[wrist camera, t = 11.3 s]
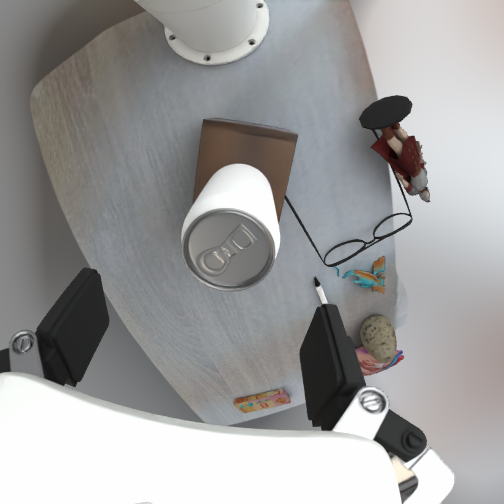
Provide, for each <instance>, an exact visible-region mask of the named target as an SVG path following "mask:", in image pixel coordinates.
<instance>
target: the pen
mask: <svg viewBox="0 0 504 504" xmlns="http://www.w3.org/2000/svg"><path fill="white" fill-rule="evenodd" d="M314 281H315V287H316V290H317V292H318V294H319V297H320V299H321V302H322V304H328V302H327V299H326V297H325V294H324V292H323V289H322V286H321V284H320V283H319V281H318V280H317V278H316V277H315V276H314Z"/></svg>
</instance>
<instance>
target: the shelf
mask: <svg viewBox="0 0 504 504" xmlns="http://www.w3.org/2000/svg"><path fill="white" fill-rule="evenodd" d="M297 138H298V134H296V133H294V132H292V131H290V130H288V129H283V128H278V127H272V126H267V125H261V124H255V123H249V122H243V121H236V120H228V119H220V118H210V119H203V124H202V131H201V138H200V145H199V153H198V161H197V170H196V179H195V188H194V198H193V204H194V203H195V201H196V200H197V198H198V196H199V195H200V193H201V192H202V190H203V189H204V187H205V186H206V184H207V183H208V181H209V180H210V178H211V177H212V176H213V175H214V174H215V173H216V172H217V171H218V170H220V169H221V168H223V167H225V166H228V165H231V164H246V165H249V166H252V167H254V168H256V169H258V170H259V171H260V172H261V173H262V174H263V175H264V176H265V177H266V178H267V180H268V182H269V184H270V187H271V190H272V195H273V199H274V204H275V209H276V214H277V219H278V225H279V220H280V216H281V211H282V207H283V203H284V198H285V193H286V189H287V184H288V180H289V175H290V171H291V166H292V161H293V157H294V152H295V147H296V142H297Z"/></svg>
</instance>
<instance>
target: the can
mask: <svg viewBox="0 0 504 504" xmlns="http://www.w3.org/2000/svg"><path fill="white" fill-rule="evenodd" d="M181 240H182V256H183V260H184V262H185V265H186V267H187V268H188V270H189V271H190V273H191V274H192V275H193V276H194V277H195V278H196V279H197V280H198V281H200V282H201V283H203V284H204V285H206V286H208V287H210V288H213V289H216V290H221V291H241V290H245V289H248V288H250V287H253V286H254V285H256V284H258V283H259V282H261V281H262V280H263V279H264V278H265V277H266V276H267V275H268V273H269V272H270V270H271V268H272V266H273V263H274V260H275V258H276V256H277V254H278V251H279V246H280V231H279V225H278V219H277V214H276V209H275V204H274V199H273V195H272V190H271V187H270V184H269V182H268V180H267V178H266V177H265V176H264V175H263V174H262V173H261V172H260V171H259V170H258V169H256V168H254V167H252V166H249V165H246V164H231V165H228V166H225V167H223V168H221V169H220V170H218V171H217V172H216V173H215V174H214V175H213V176H212V177H211V178H210V180H209V181H208V183H207V184H206V186H205V187H204V189H203V190H202V192H201V193H200V195H199V196H198V198H197V200H196V201H195V203H194V204H193V206H192V208H191V209H190V211H189V213H188V215H187V216H186V218H185V221H184V224H183V227H182V234H181Z"/></svg>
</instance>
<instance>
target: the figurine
mask: <svg viewBox="0 0 504 504" xmlns="http://www.w3.org/2000/svg"><path fill="white" fill-rule="evenodd" d="M411 108H412V103H411V101H409V99H408V98H407V97H404V96H398V95H396V96H390V97H385V98H382V99H381V100H378V101H376V102H374V103H372V104H371V105H370V106H369V107H367V108H366V109H365V110H364V111H363V112H362V114H361V116H360V118H359V120H360V123H361V125H362V127H363V128H366V129H370V130H377V129H381V131H382V133H383V135H382V136H381V137H380V139H379V140H378V141H377V142H375V143H374V144H373V145H372V146H371V148H372V149H374V150H375V151H377V152H378V153H380V154H381V155H382V157H383V158H384V159H385V160H386V161H387V162H388V163H389V164H390V165H391V166H392V167H393V169H394V170H395V172H396V173H395V174H396V176H397V178H398V179H399V180H400V181H401V182H402V184H403V186H404V188H405V190H406V192H407V193H408V194H409V195H412V196H413V195H416V194H419V195H420V197H421V199H422V200H423V201H425V202H430V199H429V198H430V193H429V189H428V188H427V187H426V185H427V182H428V180H427V171H426V169H425V168H424V164H426V162H425V161H424V160H423V157H422V154H423V153H421V148H422V145H421V147H420V143H419V142H418V141H416V140H415V136H408V135H407V133H406V132H405V131H404V130H403V129H402V128H401V127H400V124H399V122H401V121H402V120H403V119H404V118H405V117H406V116H407V115H408V114H409V113H410V112H411Z"/></svg>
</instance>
